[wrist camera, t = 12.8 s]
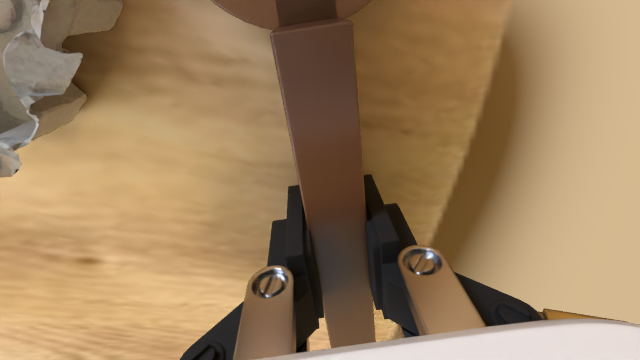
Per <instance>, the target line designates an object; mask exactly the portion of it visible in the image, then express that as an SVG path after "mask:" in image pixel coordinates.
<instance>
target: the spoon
mask: <svg viewBox="0 0 640 360" xmlns="http://www.w3.org/2000/svg"><path fill="white" fill-rule="evenodd" d="M211 1H212V2H213V3H214V4H216V5H217V6H219V7H220V8H222V9H223V10H225V11H226V12H228V13H229V14H231V15H233V16H235V17H237V18H239V19H241V20H243V21H245V22H247V23H250V24H253V25H255V26H258V27H261V28H266V29H270V30H273V31H272V33H271V34H270V38H271V43H272V48H273V53H274V59H275V64H276V69H277V74H278V79H279V84H280V89H281V94H282V99H283V105H284V110H285V115H286V120H287V125H288V130H289V135H290V140H291V145H292V151H293V156H294V161H295V166H296V171H297V176H298V181H299V186H300V191H301V197H302V202H303V207H304V212H305V217H306V222H307V227H308V230H310V234H311V239H312V244H313V249H314V255H315V260H316V265H317V270H318V276H319V281H320V286H321V291H322V297H323V309H324V314H325V319H326V324H327V329H328V335H329V340H330V345H331V348H337V347H344V346H351V345H358V344H365V343H372V342H376V340H375V326H374V313H373V299H372V292H371V285H370V272H369V258H368V245H367V231H366V222H367V216H366V203H365V189H364V175H363V161H362V148H361V134H360V120H359V106H358V93H357V79H356V65H355V51H354V38H353V24H352V22H351V21H349V20H346V18H347V17H349V16H351V15H353V14H355V13H356V12H357V11H359V10H360V9H361V8H363V7H364V6H365V5H367V4H368V3H369V2H370V1H372V0H211Z"/></svg>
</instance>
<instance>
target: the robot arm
mask: <svg viewBox="0 0 640 360" xmlns="http://www.w3.org/2000/svg"><path fill="white" fill-rule="evenodd" d="M364 189H365V203H366V216H367V222H366V231H367V245H368V258H369V272H370V285H371V292H372V296H373V300H374V304H375V308H376V310H381V309H382V312H383V316H384V319H390V320H392V321H394V322H395V323H397V324H398V327H399V332H400V335H401V339H394V340H387V341H379V342H372V343H365V344H358V345H351V346H344V347H337V348H330V349H323V350H316V351H309V339H308V338H309V336H310V335H311V334H312V333H313V332H314V331H315V330H316V329H319V318H324V309H323V297H322V291H321V286H320V281H319V276H318V270H317V265H316V260H315V255H314V249H313V244H312V239H311V234H310V230H308V227H307V222H306V217H305V212H304V207H303V202H302V197H301V191H300V186H299V185H295V186H289V187H288V204H287V219H283V220H277V221H273V223H272V230H271V239H270V247H269V256H268V264H267V267H265V268H263V269H261V270H259V271H258V272H256V273H255V274H254V275H253V276H252V277H251V279H250V280H249V282H248V285H247V289H246V294H245V299H244V301H243V302H242V303H241V304H240V305H239V306H238V307H236V308H235V309H234V310H233V311H232V312H230V313H229V314H228V315H227V316H226V317H225V318H223V319H222V320H221V321H220V322H219V323H218V324H216V325H215V326H214V327H213V328H212V329H211V330H209V331H208V332H207V333H206V334H205V335H204V336H202V337H201V338H200V339H199V340H198V341H196V342H195V343H194V344H193V345H192V346H191V347H190V348H189V349H188V350H187V351H186V352H185V353H184V354H183V356H182V357H181V359H180V360H640V324H634V323H629V322H625V321H620V320H614V319H607V318H600V317H594V316H588V315H582V314H576V313H569V312H563V311H557V310H550V309H544V310H543V312H537V311H536V310H535V309H534V308H532V307H531V306H530V305H528V304H527V303H525V302H523V301H521V300H519V299H516V298H514V297H512V296H509V295H507V294H505V293H502V292H500V291H498V290H495V289H493V288H490V287H488V286H486V285H483V284H481V283H479V282H476V281H474V280H472V279H469V278H467V277H465V276H462V275H460V274H457V273H455V272H454V271H453V270H452V268H451V267H450V265H449V263H448V261H447V260H446V258H445V257H444V256H443V254H442V253H441V252H439V251H438V250H436V249H435V248H432V247H429V246H425V245H418V244H417V242H416V240H415V238H414V236H413V234H412V232H411V230H410V228H409V226H408V224H407V222H406V220H405V218H404V216H403V214H402V212H401V210H400V208H399V206H398V205H397V204H396V203H393V204H386V205H384V203H383V201H382V198H381V196H380V194H379V191H378V189H377V187H376V184H375V182H374V180H373V178H372V175H371V174H370V175H364Z"/></svg>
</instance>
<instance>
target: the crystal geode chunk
mask: <svg viewBox="0 0 640 360" xmlns="http://www.w3.org/2000/svg"><path fill="white" fill-rule="evenodd" d="M122 6H123V2H122V0H0V177H11V176H12V175H13V174H15V173H16V172H17V171H18V170H19V169H20V166H21V162H20V160H19V155H17V154H16V153H15V152H14V151H15V150H16V149H18V148H20V147H23V146H25V145H27V144H28V143H29V142H30V141H31V140H35V139H36V138H38V137H40V136H42V135H44V134H47V133H50V132H52V131H53V130H55V129H57V128H58V127H60V126H62V125H64V124H67V123H69V122H70V121H72V120H73V119H74V117H75V116H76V114H77V113H78V111H79V109H80V107H81V106H82V105H83V104H84V103H85V102H86V94H85V93H84V92H82V91H81V90H80V89H79V88H78V87H76V86H75V85H74V84H73V83H72V82H71V80H72V78H73V76H74V75H75V73H76V71H77V69H78V67H79V65H80V63H81V61H82V59H83V54H81V53H79V52H71V51H69V50H67V49H64V48H62V44H63V41H64V40H65V38H66V37H67V36H69V35H78V34H82V33H88V32H100V31H109V30H110V29H111V28H112V27H113V26H114V25H115V23H116V20H117V18H118V17H119V15H120V14H121V10H122Z"/></svg>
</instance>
